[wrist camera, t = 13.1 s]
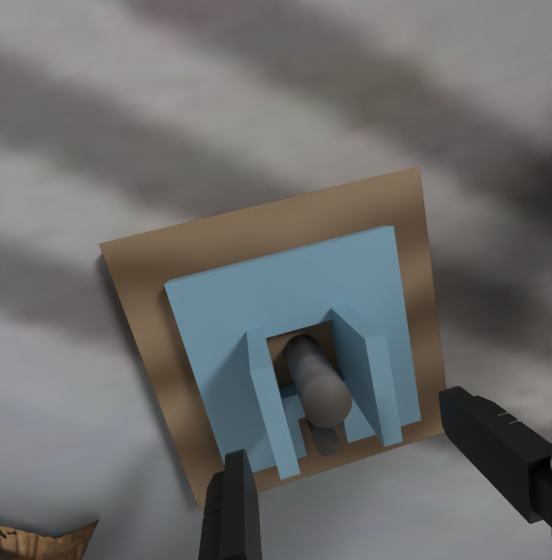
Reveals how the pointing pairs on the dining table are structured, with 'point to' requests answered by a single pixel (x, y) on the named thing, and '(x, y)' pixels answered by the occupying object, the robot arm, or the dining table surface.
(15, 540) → the bird sculpture
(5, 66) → the dining table surface
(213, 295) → the flange plate
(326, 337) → the post board
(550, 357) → the dining table surface
